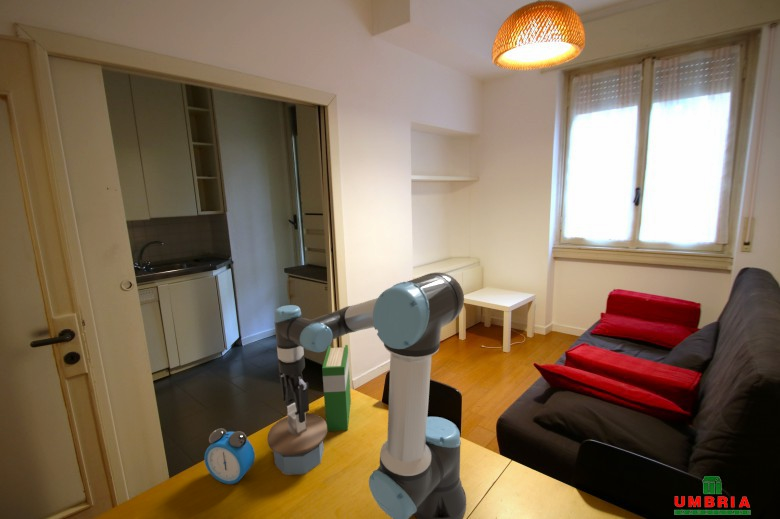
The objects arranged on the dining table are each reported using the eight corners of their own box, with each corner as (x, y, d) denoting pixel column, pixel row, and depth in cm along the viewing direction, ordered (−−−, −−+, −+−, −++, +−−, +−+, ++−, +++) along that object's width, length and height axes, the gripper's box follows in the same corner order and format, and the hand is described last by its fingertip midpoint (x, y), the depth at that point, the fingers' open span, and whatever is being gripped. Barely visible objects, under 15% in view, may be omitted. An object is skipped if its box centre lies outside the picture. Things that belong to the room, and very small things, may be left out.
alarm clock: (206, 480, 107) (199, 435, 104) (221, 465, 112) (215, 422, 110) (245, 489, 103) (239, 442, 100) (258, 472, 109) (253, 428, 106)
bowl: (331, 456, 115) (330, 439, 114) (292, 482, 105) (290, 464, 104) (306, 436, 125) (305, 420, 124) (268, 458, 115) (266, 441, 114)
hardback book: (332, 402, 144) (328, 345, 140) (350, 401, 145) (347, 344, 140) (326, 431, 127) (322, 368, 122) (347, 430, 127) (344, 367, 123)
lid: (338, 432, 114) (337, 412, 112) (287, 464, 101) (285, 441, 100) (306, 409, 126) (305, 390, 125) (257, 435, 113) (255, 414, 112)
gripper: (318, 361, 105) (323, 433, 110) (287, 344, 117) (293, 410, 121) (295, 371, 100) (301, 445, 104) (265, 352, 111) (272, 420, 116)
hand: (297, 426), depth 113 cm, fingers closed on lid, 4 cm apart
